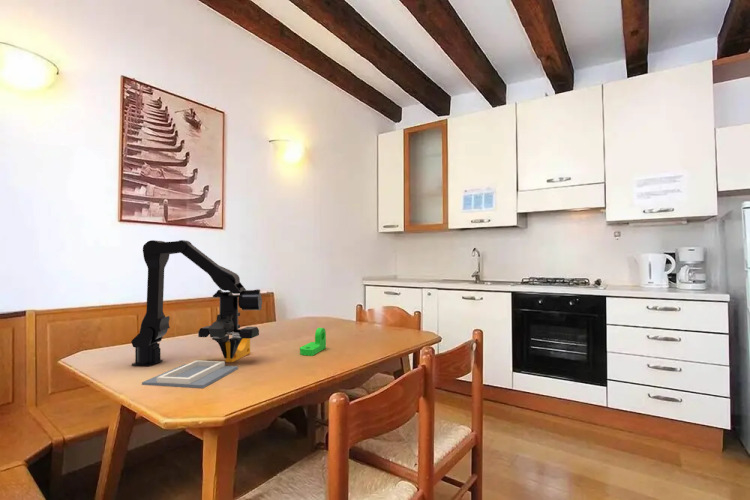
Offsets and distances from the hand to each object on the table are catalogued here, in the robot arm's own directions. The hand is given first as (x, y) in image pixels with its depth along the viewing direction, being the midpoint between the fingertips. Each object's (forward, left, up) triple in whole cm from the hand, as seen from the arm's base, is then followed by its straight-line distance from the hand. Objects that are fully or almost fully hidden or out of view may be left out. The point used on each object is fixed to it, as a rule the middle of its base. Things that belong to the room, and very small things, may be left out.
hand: (228, 358), depth 128 cm
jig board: (-2, -16, -1) cm, 16 cm away
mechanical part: (+22, +19, -2) cm, 29 cm away
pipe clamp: (-1, +6, -1) cm, 6 cm away
